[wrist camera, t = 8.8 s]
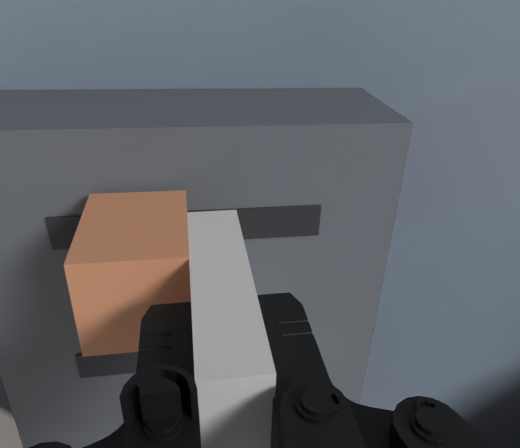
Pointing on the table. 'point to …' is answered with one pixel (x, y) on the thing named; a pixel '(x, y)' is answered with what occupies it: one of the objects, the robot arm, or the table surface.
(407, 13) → the table surface
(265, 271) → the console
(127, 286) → the slider terracotta
